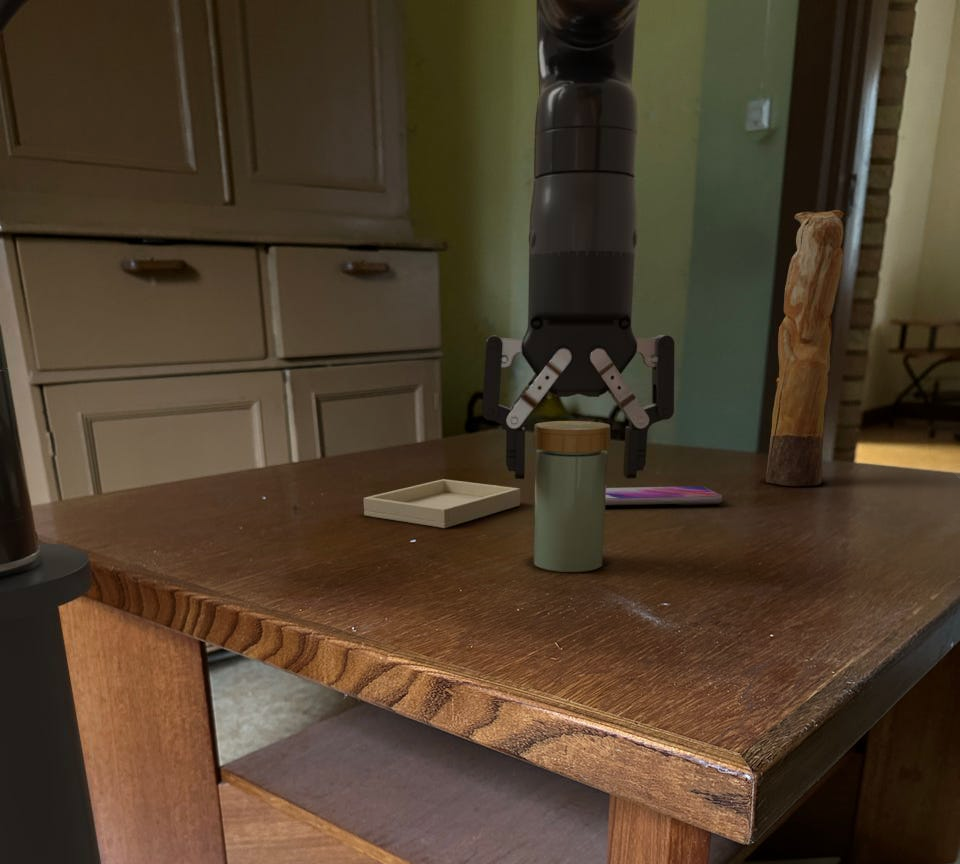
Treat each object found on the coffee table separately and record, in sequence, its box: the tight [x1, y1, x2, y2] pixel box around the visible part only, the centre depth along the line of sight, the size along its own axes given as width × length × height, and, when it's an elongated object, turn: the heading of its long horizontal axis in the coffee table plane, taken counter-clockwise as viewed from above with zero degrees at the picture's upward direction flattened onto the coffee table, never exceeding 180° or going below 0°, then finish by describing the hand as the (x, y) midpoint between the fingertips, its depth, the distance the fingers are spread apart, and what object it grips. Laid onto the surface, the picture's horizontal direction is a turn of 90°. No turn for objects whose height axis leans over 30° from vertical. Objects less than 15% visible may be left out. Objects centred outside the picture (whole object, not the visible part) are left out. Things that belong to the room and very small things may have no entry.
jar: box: [533, 449, 609, 573], centre depth 72 cm, size 6×6×10 cm
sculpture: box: [765, 209, 844, 488], centre depth 105 cm, size 7×9×30 cm
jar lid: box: [532, 420, 612, 453], centre depth 71 cm, size 6×6×2 cm
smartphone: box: [605, 485, 723, 506], centre depth 98 cm, size 7×1×15 cm
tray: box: [363, 478, 521, 529], centre depth 94 cm, size 13×10×2 cm
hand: (574, 477), depth 70 cm, fingers open, 8 cm apart
